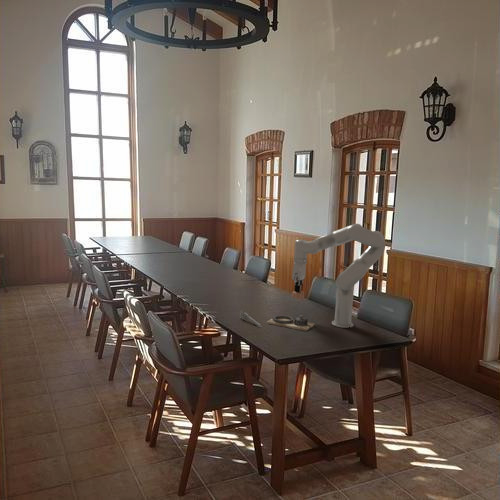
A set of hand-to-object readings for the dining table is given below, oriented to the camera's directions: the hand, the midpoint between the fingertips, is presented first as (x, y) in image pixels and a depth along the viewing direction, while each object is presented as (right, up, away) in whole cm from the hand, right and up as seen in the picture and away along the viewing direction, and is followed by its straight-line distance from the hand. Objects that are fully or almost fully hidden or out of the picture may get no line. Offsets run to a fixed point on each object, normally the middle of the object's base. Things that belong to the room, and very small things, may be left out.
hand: (298, 290), depth 293 cm
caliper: (-28, -18, -11) cm, 35 cm away
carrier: (-5, -18, -10) cm, 22 cm away
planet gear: (0, -4, +1) cm, 4 cm away
